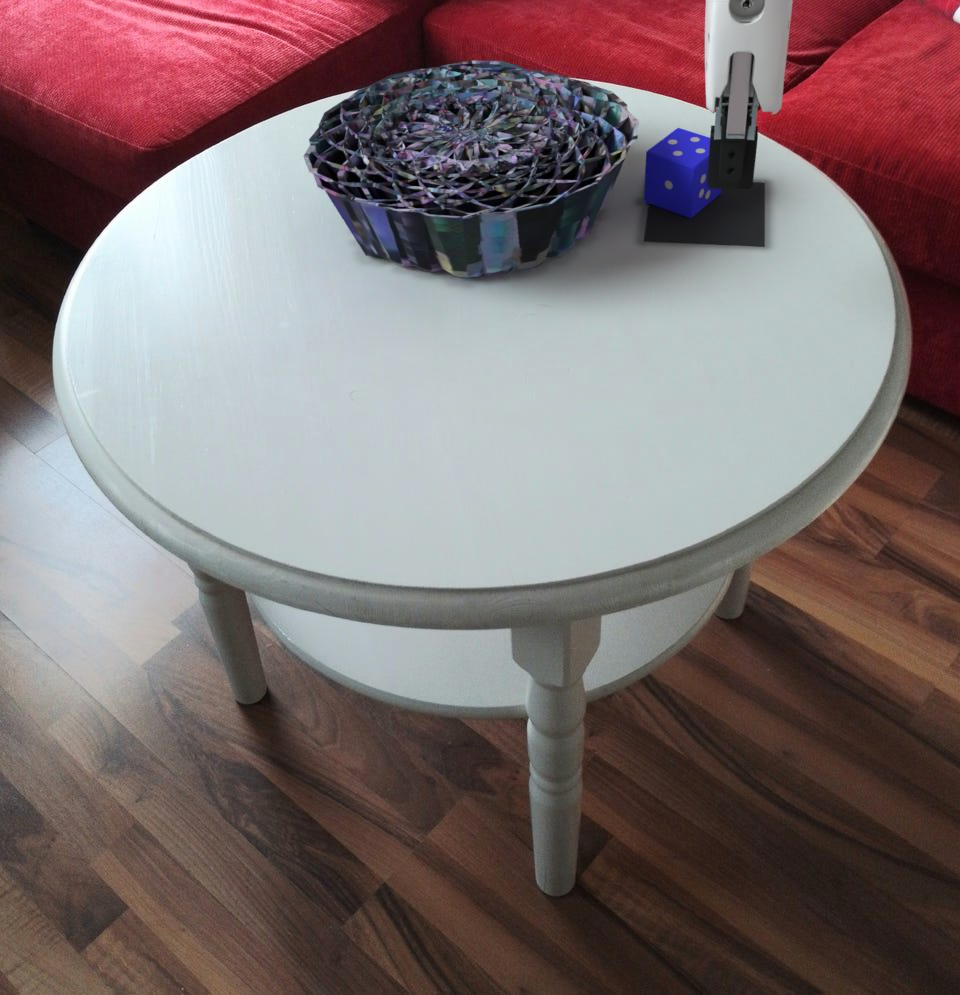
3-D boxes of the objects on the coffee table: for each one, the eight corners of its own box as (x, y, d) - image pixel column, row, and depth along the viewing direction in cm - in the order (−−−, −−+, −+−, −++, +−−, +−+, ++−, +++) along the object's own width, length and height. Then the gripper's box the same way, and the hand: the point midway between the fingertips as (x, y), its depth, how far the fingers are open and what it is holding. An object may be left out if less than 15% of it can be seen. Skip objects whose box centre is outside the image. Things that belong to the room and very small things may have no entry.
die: (643, 202, 98) (645, 150, 94) (674, 177, 100) (677, 126, 96) (691, 219, 95) (695, 167, 92) (721, 193, 98) (727, 142, 94)
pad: (764, 183, 99) (764, 182, 98) (764, 247, 92) (764, 246, 92) (652, 179, 100) (652, 178, 100) (643, 242, 94) (643, 241, 93)
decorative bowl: (404, 144, 111) (384, 47, 104) (671, 159, 101) (669, 53, 95) (284, 290, 95) (252, 186, 88) (589, 324, 86) (579, 211, 79)
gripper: (823, -48, 60) (784, 242, 73) (815, -135, 70) (782, 133, 83) (684, -45, 62) (670, 238, 75) (696, -131, 72) (682, 132, 85)
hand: (729, 182), depth 79 cm, fingers closed
